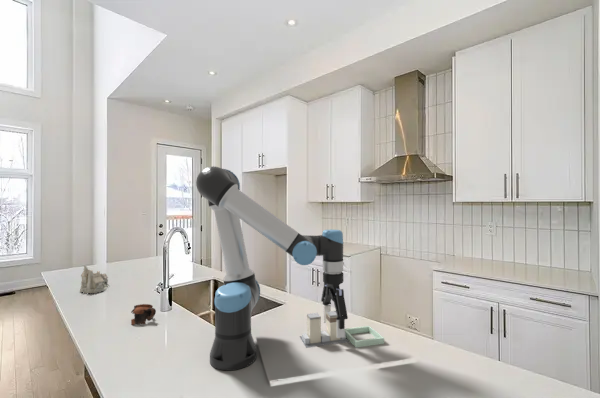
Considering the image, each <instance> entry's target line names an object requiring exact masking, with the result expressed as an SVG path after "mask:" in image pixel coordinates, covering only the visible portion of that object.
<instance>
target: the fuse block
mask: <svg viewBox="0 0 600 398" xmlns="http://www.w3.org/2000/svg"><path fill="white" fill-rule="evenodd" d="M299 338H300V340H301V342H302V343H303V345H304V346H305V348H306V349H307V348H315V347H323V346H328V345H336V344H337V345H338V344H343V343H350V341H349V340H348V339H347V338H346V333H345V337H342V338H341V339H340V340H333V341H330V335H329V334H328V333H327V332H326V330H321V342H318V343H310V338H309V337H308V335H307V332H304V333H301V335H300V336H299Z"/></svg>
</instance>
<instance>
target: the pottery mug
mask: <svg viewBox="0 0 600 398" xmlns="http://www.w3.org/2000/svg"><path fill="white" fill-rule="evenodd" d="M130 313H131V314H133V317H134V318H132V319H131V320H130V323H131V325H132V326H134V325H146V321H148V322H150V321H152V319H153V318H154V317H155V315H156V313H157V310H156V308H154V307H153V305H152V304H148V303H143V304H142V303H141V304H136V305H134V307H133V309H132V310H131V312H130Z"/></svg>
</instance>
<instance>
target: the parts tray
mask: <svg viewBox="0 0 600 398" xmlns="http://www.w3.org/2000/svg"><path fill="white" fill-rule="evenodd" d="M345 333H346V339H347V340H348V341H349V343H351V344H352V345H353V346H354V347H355V348H362V347H369V346H374V345H375V346H377V345H383V344H385V337H384V336H382V335H381V334H380V333H379V332H378V331H377V330H375V328H373V327H371V326H370V325H364V326H363V325H362V326H355V327H350V328H345ZM362 333H369V334H371V335H372V337H373V338H367V339H358V340H357V339H356V338H355V337H354V336H353V334H355V335H356V334H362Z"/></svg>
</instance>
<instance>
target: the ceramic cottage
mask: <svg viewBox="0 0 600 398" xmlns="http://www.w3.org/2000/svg"><path fill="white" fill-rule="evenodd" d="M80 277H81V283H80V285H81V286H80V288H79V293H81V292H84V293H83V294H86V293H95V294H98V293H97V292H99V293H102V292H101V291H103V292H104V290H105V291H106V290H107V289H108V288H109V287H110V284H108V283H109V279H108V278H109V277H108V275H107V273H101V271H99V270H97V271H96V272H94V271H93V270H92V269H88V266H87V265H84V266H83V271H82V273H81V275H80ZM108 286H109V287H108ZM107 287H108V288H107ZM106 288H107V289H106Z"/></svg>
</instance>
